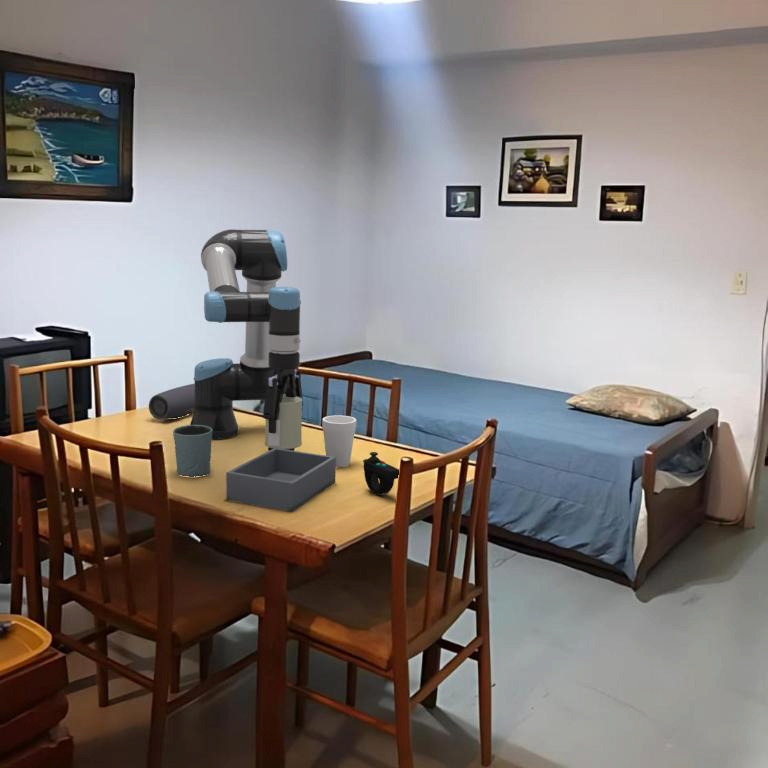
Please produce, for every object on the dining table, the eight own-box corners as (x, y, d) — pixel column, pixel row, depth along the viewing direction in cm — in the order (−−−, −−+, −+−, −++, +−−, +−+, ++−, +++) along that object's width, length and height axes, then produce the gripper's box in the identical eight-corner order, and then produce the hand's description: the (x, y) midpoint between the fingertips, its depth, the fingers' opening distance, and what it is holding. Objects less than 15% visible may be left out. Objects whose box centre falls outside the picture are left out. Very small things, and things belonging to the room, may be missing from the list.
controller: (373, 486, 213) (374, 449, 211) (402, 499, 203) (403, 461, 201) (359, 488, 211) (360, 451, 208) (388, 503, 201) (389, 464, 199)
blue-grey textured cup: (212, 466, 224) (212, 424, 222) (213, 478, 215) (212, 434, 212) (174, 468, 222) (173, 425, 220) (173, 479, 213) (172, 435, 210)
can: (286, 451, 198) (286, 403, 196) (257, 445, 203) (257, 397, 200) (309, 443, 206) (310, 396, 203) (280, 437, 210) (281, 391, 208)
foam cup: (322, 469, 225) (323, 423, 223) (320, 459, 234) (320, 415, 232) (357, 469, 227) (358, 423, 224) (353, 459, 236) (354, 415, 233)
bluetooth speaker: (189, 407, 290) (189, 380, 288) (211, 411, 286) (211, 383, 284) (147, 421, 270) (146, 391, 268) (170, 425, 266) (169, 395, 264)
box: (274, 472, 221) (274, 447, 220) (335, 482, 215) (335, 456, 213) (226, 500, 199) (226, 472, 198) (292, 511, 193) (292, 483, 191)
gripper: (276, 358, 188) (275, 453, 193) (317, 346, 208) (316, 432, 213) (247, 356, 191) (247, 449, 195) (291, 344, 211) (290, 429, 215)
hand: (283, 440), depth 204 cm, fingers closed on can, 9 cm apart
